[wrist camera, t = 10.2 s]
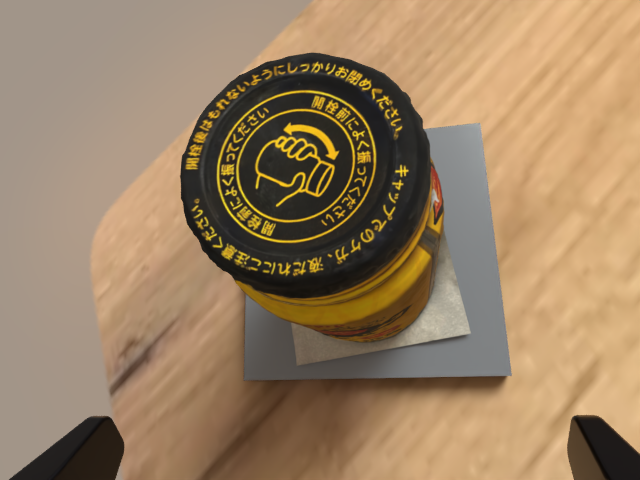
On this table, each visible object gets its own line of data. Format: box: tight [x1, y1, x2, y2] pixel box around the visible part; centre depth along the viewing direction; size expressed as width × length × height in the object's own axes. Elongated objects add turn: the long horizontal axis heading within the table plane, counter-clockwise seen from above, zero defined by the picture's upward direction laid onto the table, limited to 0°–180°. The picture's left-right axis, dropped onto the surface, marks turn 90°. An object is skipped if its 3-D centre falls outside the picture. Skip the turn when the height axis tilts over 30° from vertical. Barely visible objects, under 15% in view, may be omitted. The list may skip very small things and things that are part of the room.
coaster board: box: [244, 123, 512, 380], centre depth 21 cm, size 11×11×1 cm
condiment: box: [180, 53, 471, 366], centre depth 15 cm, size 7×8×12 cm
